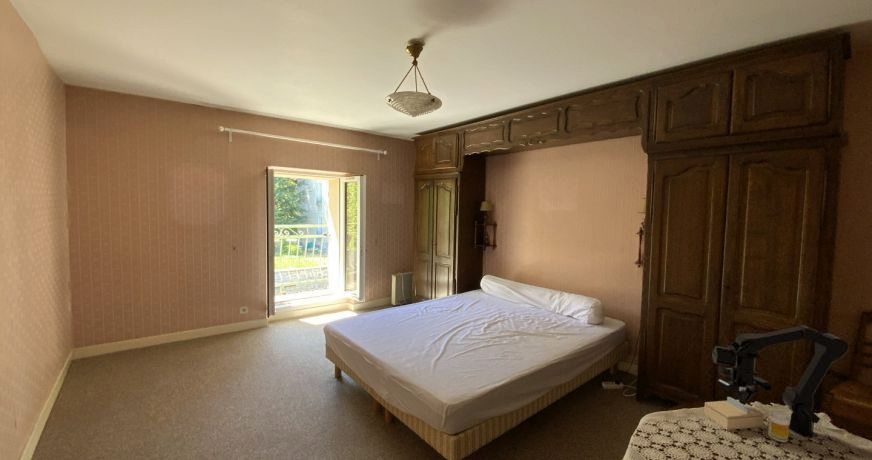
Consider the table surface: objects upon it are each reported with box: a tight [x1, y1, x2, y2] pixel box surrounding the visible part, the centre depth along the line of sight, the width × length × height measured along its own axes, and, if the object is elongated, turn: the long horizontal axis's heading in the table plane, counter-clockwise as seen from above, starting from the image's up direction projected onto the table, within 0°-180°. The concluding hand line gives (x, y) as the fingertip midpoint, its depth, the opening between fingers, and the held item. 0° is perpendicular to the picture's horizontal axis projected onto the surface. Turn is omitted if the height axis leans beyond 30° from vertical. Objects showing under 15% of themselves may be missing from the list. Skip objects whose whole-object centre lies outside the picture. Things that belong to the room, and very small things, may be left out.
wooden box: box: [703, 404, 765, 431], centre depth 143 cm, size 16×10×4 cm, turn 98°
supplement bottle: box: [767, 409, 790, 443], centre depth 133 cm, size 5×5×10 cm
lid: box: [704, 396, 765, 419], centre depth 142 cm, size 16×10×3 cm, turn 98°
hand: (742, 404), depth 143 cm, fingers closed
